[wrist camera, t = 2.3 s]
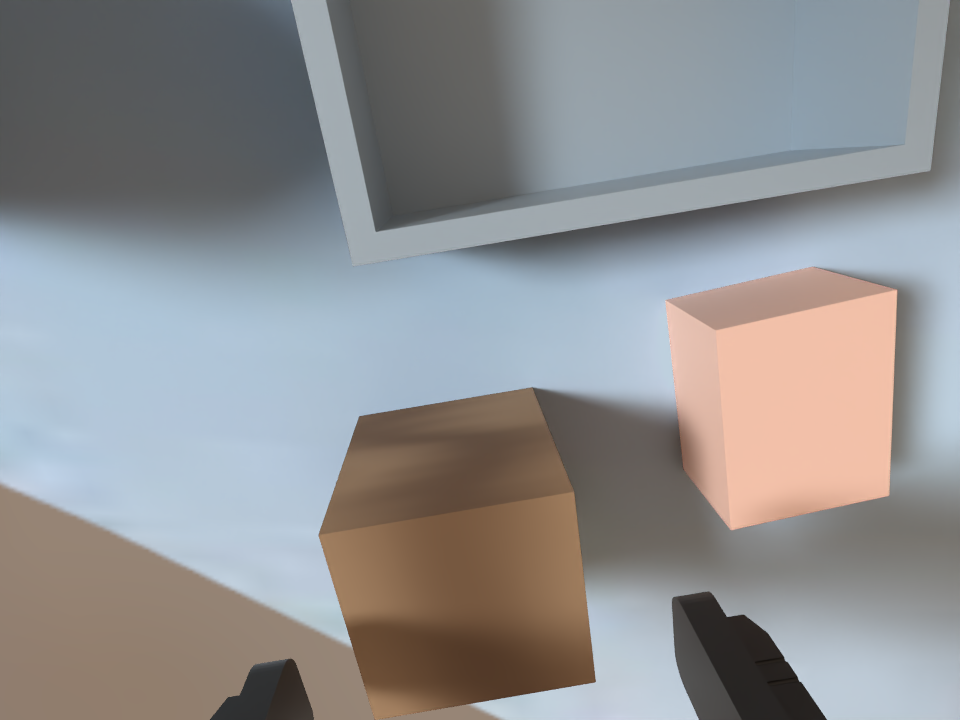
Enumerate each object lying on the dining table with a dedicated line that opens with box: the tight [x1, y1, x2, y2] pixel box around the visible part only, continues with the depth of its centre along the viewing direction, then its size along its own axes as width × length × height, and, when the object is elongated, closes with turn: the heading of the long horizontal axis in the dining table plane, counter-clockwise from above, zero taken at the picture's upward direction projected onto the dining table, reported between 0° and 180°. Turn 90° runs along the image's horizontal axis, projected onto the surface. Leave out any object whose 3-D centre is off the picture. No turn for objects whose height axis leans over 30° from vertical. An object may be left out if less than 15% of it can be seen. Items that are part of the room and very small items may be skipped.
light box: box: [665, 267, 897, 530], centre depth 16 cm, size 4×6×4 cm
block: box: [319, 388, 596, 720], centre depth 15 cm, size 6×6×6 cm
